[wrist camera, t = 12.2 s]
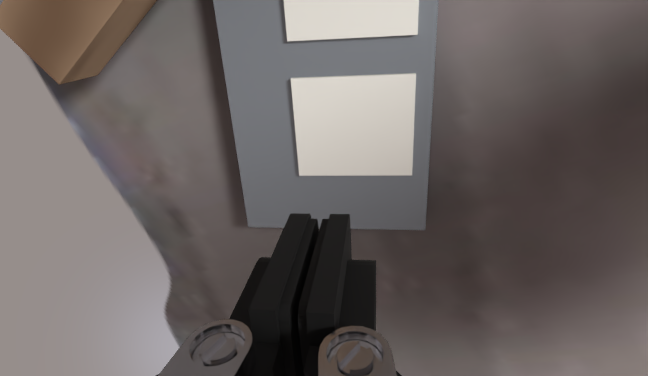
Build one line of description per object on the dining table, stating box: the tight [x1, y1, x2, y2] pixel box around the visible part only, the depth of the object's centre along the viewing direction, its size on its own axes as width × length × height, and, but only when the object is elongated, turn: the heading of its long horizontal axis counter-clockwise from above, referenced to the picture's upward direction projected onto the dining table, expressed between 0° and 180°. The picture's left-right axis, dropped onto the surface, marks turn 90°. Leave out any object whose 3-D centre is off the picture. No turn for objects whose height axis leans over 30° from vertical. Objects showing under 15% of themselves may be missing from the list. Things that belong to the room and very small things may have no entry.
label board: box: [213, 0, 438, 230], centre depth 23 cm, size 12×22×2 cm, turn 3°
